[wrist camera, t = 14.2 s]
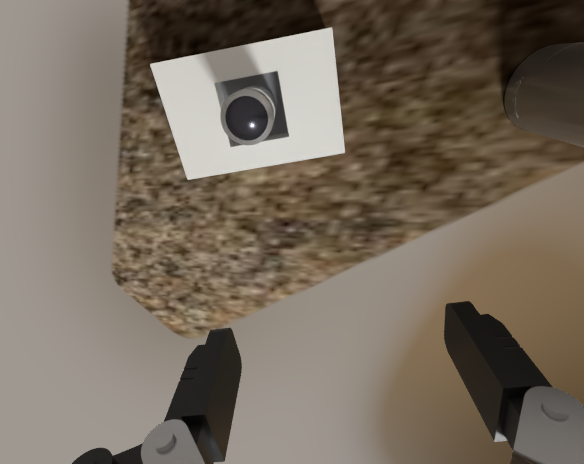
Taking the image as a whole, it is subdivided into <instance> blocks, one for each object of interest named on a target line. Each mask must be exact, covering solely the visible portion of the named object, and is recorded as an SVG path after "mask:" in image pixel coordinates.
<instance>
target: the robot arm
mask: <svg viewBox="0 0 584 464" xmlns="http://www.w3.org/2000/svg"><path fill="white" fill-rule="evenodd" d="M504 106H505V110H506V114H507V116H508V118H509V120H510V121H511V122H512V123H513V124H514V125H515V126H517V127H519V128H520V129H523V130H527V131H530V132H533V133H537V134H540V135H544V136H547V137H550V138H554V139H557V140H561V141H564V142H568V143H571V144H575V145H578V146H582V147H584V42H578V43H565V44H555V45H550V46H547V47H544V48H541V49H539V50H537V51H536V52H534V53H533V54H531V55H530V56H528V57H527V58H526V59H525V60H524V61H523V62H522V63H521V64H520V65H519V66H518V68H517V69H516V70H515V71H514V73H513V75H512V76H511V78H510V80H509V83H508V85H507V88H506V92H505V97H504ZM444 339H445V344H446V348H447V350H448V353H449V355H450V357H451V359H452V361H453V363H454V365H455V367H456V369H457V370H458V372H459V374H460V376H461V378H462V380H463V382H464V384H465V386H466V388H467V390H468V392H469V394H470V396H471V398H472V399H473V401H474V403H475V405H476V407H477V409H478V411H479V413H480V415H481V417H482V419H483V421H484V423H485V425H486V426H487V428H488V430H489V432H490V434H491V436H492V438H493V440H494V441H495V442H497V441H508V443H509V445H510V446H511V448H512V450H513V453H512V458H511V463H510V464H584V406H582V405H581V403H580V402H579V401H577V400H576V399H575V398H574V397H572V396H571V395H569V394H567V393H565V392H564V391H561V390H559V389H556V388H553V387H552V386H551V385H550V383H549V382H548V381H547V379H546V378H545V377H544V376H543V374H542V373H541V372H540V370H539V369H538V368H537V367H536V366H535V364H534V363H533V362H532V360H531V359H530V358H529V356H528V355H527V354H526V353H525V351H524V350H523V349H522V348H520V345H519V344H518V343H517V341H516V340H515V339H514V338H512V335H511V334H510V332H509V331H508V330H507V329H506V327H505V326H504V325H503V324H502V323H501V322H500V321H498V320H497V319H495V318H494V317H492V316H491V315H489V314H485V315H480V314H479V313H478V311H477V310H476V309H475V307H474V306H473V304H472V303H471V302H469V301H465V302H457V303H448V304H446V308H445V328H444ZM241 369H242V364H241V357H240V353H239V350H238V347H237V344H236V341H235V338H234V334H233V331H232V329H231V328H223V329H215V330H211V331H210V332H209V335H208V338H207V341H206V344H205V345H198V346H197V347H196V348H195V350H194V351H193V352H192V353H191V355H190V356H189V357H188V360H187V362H186V365H185V368H184V371H183V373H182V375H181V378H180V381H179V384H178V386H177V389H176V392H175V394H174V397H173V399H172V402H171V404H170V407H169V410H168V412H167V415H166V418H165V420H164V422H163V423H161V424H159V425H158V426H156V427H155V428H154V429H153V430H152V431H151V432H150V433H149V434H148V435H147V437H146V438H145V440H144V442H143V443H142V444H140V445H139V446H136V447H134V448H131V449H129V450H126V451H124V452H122V453H119V454H117V455H114V456H112V454H111V452H110V451H109V450H107V449H105V448H96V449H93V450H90V451H88V452H86V453H84V454H83V455H81V456H80V457H78V458H77V459H76V460H75V461H74V462H73V463H72V464H213V463H214V462H223V461H225V456H226V450H227V445H228V441H229V435H230V430H231V425H232V419H233V414H234V408H235V403H236V398H237V393H238V388H239V382H240V377H241Z"/></svg>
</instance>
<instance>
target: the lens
mask: <svg viewBox="0 0 584 464" xmlns="http://www.w3.org/2000/svg"><path fill="white" fill-rule="evenodd" d="M276 108H277V106H276V101H275V98H274V96H273V95H272V93H271V92H270V91H269V90H268V89H266V88H265V87H262V86H259V85H252V86H249V87H246V88H244V89H242V90H239V91H237V92H234V93H233V94H231V95H230V96H229V97H228V98H227V99H226V100H225V101H224V103H223V105H222V108H221V113H220V120H221V124H222V127H223V129H224V131H225V133H226V134H227V135H228V137H229V138H230V139H232V140H233V141H235V142H236V143H239V144H242V145H255V144H258V143H260V142H262V141H263V140H264V139H265V138H266V137H267V136H268V135H269V133H270V132H271V129H272V126H273V122H274V118H275V114H276Z"/></svg>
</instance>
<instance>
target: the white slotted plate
mask: <svg viewBox="0 0 584 464" xmlns="http://www.w3.org/2000/svg"><path fill="white" fill-rule="evenodd" d="M150 66H151V69H152V72H153V75H154V78H155V81H156V84H157V87H158V90H159V93H160V96H161V99H162V102H163V106H164V109H165V112H166V115H167V118H168V121H169V124H170V127H171V130H172V133H173V136H174V139H175V142H176V145H177V149H178V152H179V155H180V158H181V161H182V164H183V167H184V170H185V173H186V176H187V179H188V180H190V179H196V178H201V177H207V176H213V175H219V174H225V173H231V172H236V171H242V170H248V169H254V168H260V167H265V166H271V165H277V164H283V163H289V162H295V161H300V160H306V159H312V158H318V157H324V156H329V155H335V154H341V153H345V148H344V138H343V129H342V119H341V109H340V100H339V90H338V80H337V70H336V61H335V51H334V41H333V32H332V27H331V28H326V29H321V30H316V31H311V32H307V33H302V34H297V35H292V36H287V37H282V38H277V39H272V40H267V41H262V42H257V43H252V44H247V45H242V46H237V47H232V48H227V49H222V50H217V51H212V52H207V53H202V54H197V55H192V56H187V57H182V58H177V59H172V60H167V61H162V62H157V63H152V64H150ZM252 85H259V86H262V87H265V88H266V89H268V90H269V91H270V92H271V93H272V95H273V96H274V98H275V101H276V106H277V108H276V114H275V118H274V122H273V126H272V129H271V132H270V133H269V135H268V136H267V137H266V138H265V139H264V140H263V141H262V142H260V143H258V144H255V145H242V144H239V143H236V142H235V141H233V140H232V139H230V138H229V137H228V135H227V134H226V133H225V131H224V129H223V127H222V124H221V120H220V113H221V108H222V105H223V103H224V101H225V100H226V99H227V98H228V97H229V96H230V95H231V94H233V93H234V92H237V91H239V90H242V89H244V88H246V87H249V86H252Z"/></svg>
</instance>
